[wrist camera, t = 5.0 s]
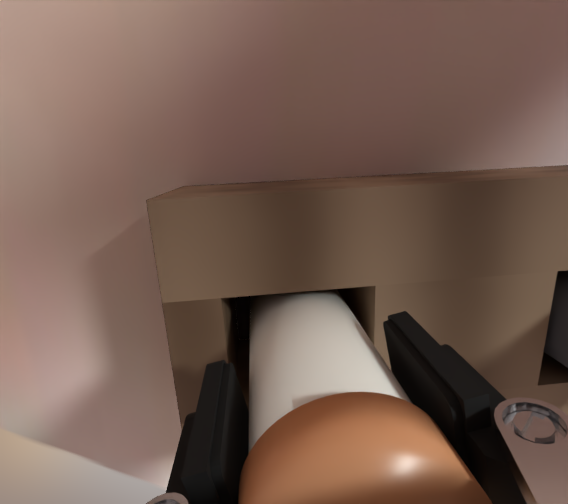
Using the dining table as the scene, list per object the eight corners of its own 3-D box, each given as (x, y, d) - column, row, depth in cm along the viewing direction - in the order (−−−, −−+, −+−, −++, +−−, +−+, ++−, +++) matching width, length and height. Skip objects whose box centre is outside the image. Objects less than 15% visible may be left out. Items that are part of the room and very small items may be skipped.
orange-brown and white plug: (338, 251, 17) (517, 441, 6) (338, 337, 18) (485, 635, 7) (242, 258, 17) (222, 477, 5) (249, 345, 18) (246, 675, 6)
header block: (601, 163, 18) (765, 164, 12) (563, 360, 21) (679, 434, 16) (183, 186, 16) (146, 200, 11) (209, 396, 20) (191, 495, 14)
